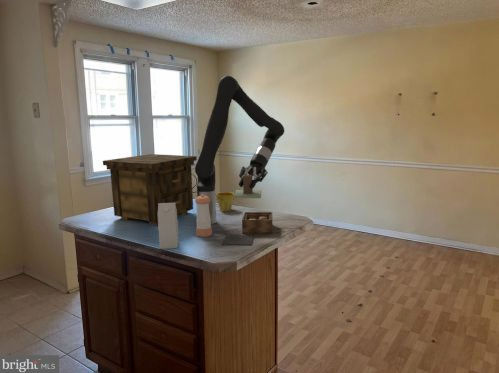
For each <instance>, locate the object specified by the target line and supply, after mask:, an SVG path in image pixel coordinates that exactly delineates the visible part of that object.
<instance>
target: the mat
mask: <svg viewBox="0 0 499 373" xmlns="http://www.w3.org/2000/svg"><path fill="white" fill-rule="evenodd" d="M254 236H255V235H254V234H225V236H224V239H223V240H222V243H221V246H252V245H253V241H254Z"/></svg>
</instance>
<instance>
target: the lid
mask: <svg viewBox="0 0 499 373" xmlns="http://www.w3.org/2000/svg"><path fill="white" fill-rule="evenodd" d="M252 180H254V176H253V175H249V174H248V175H244V176H243V187H242V189H236V190H235V192H234V199H261V198H262V189H254V188H253V189H251V188H250V187H249V186H250V184H251V182H252Z"/></svg>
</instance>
